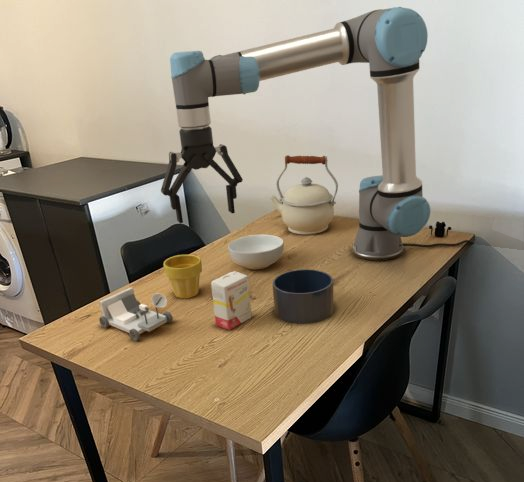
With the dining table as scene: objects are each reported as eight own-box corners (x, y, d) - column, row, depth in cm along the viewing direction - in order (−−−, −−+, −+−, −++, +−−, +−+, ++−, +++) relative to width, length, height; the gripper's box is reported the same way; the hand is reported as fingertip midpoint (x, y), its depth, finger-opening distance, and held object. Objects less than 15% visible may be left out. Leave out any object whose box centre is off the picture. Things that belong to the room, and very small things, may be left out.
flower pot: (212, 288, 157) (207, 255, 152) (193, 303, 149) (188, 269, 144) (181, 284, 161) (176, 252, 156) (161, 298, 153) (155, 266, 148)
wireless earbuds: (427, 236, 179) (429, 221, 176) (429, 234, 181) (430, 219, 178) (450, 238, 176) (451, 223, 173) (451, 235, 178) (452, 220, 175)
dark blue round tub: (316, 292, 149) (316, 264, 145) (344, 314, 137) (344, 285, 133) (265, 305, 145) (263, 277, 140) (289, 328, 132) (287, 299, 128)
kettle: (345, 222, 198) (345, 150, 185) (329, 239, 184) (328, 162, 171) (281, 218, 208) (277, 149, 195) (261, 234, 193) (255, 161, 181)
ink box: (229, 331, 134) (223, 286, 128) (215, 325, 137) (209, 282, 131) (252, 317, 139) (248, 274, 133) (238, 312, 142) (234, 270, 136)
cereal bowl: (286, 253, 175) (285, 232, 172) (283, 274, 161) (281, 251, 158) (234, 255, 177) (232, 234, 174) (226, 276, 163) (223, 253, 160)
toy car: (174, 290, 133) (137, 308, 126) (180, 325, 138) (145, 345, 131) (128, 275, 144) (91, 291, 136) (135, 308, 149) (100, 326, 141)
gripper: (239, 118, 134) (247, 204, 145) (138, 132, 127) (154, 221, 137) (250, 121, 128) (257, 211, 139) (145, 136, 120) (161, 230, 131)
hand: (206, 216), depth 138 cm, fingers open, 13 cm apart
